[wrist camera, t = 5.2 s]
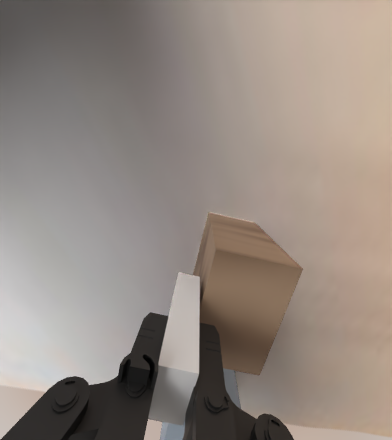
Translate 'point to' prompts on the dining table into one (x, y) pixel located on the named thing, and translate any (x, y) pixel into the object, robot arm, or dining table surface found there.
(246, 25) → the dining table surface
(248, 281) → the walnut block
